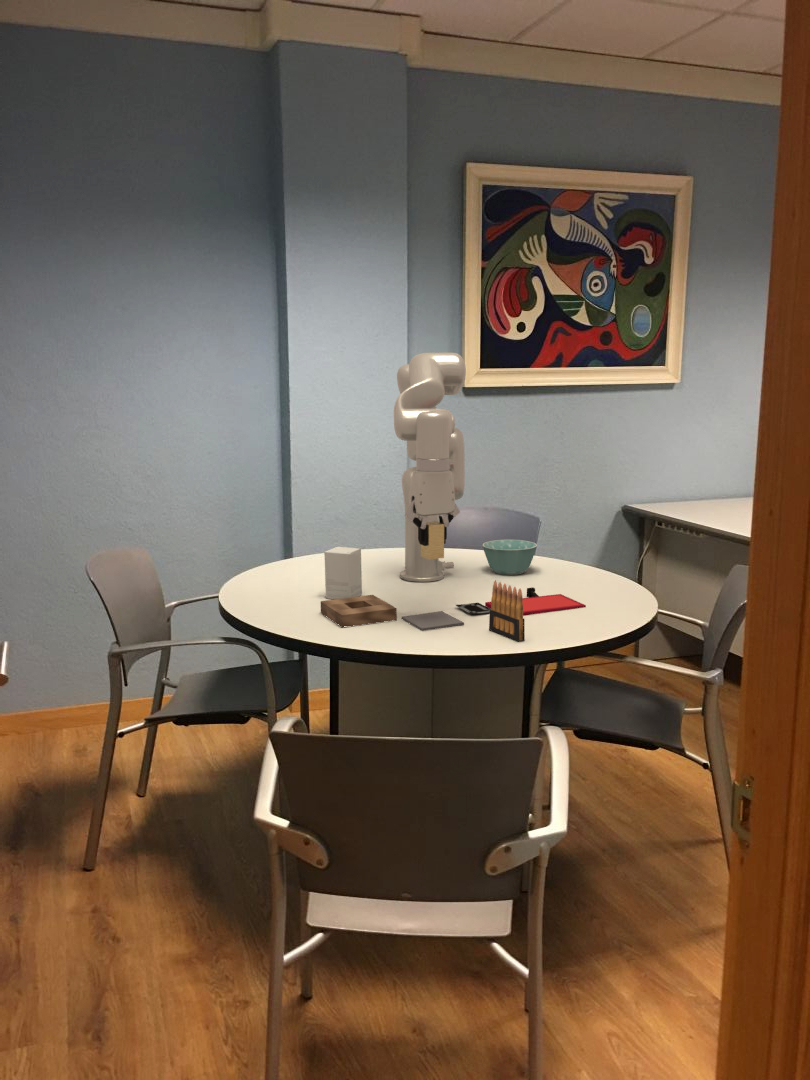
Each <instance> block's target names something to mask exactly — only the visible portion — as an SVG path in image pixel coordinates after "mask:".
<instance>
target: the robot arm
mask: <svg viewBox="0 0 810 1080" xmlns="http://www.w3.org/2000/svg"><path fill="white" fill-rule="evenodd" d="M466 373H467V371H466V364H465V360H464V358H463V357H462V355H460V354H459V353H456V352H421V353H418V354H416V355H414V356H413V357H412V358H411V359H410V362H409V363H407V364H403V365H401V366H400V367H399V368H398V369H397V373H396V380H397V387H398V390H399V395H398V396H397V398H396V401H395V402H394V407H393V426H394V432H395V436H396V438H398V439H399V440H402V441H406V450H407V455H408V457H409V459H410V460H412V461H415V463H416V464H415V466H413V467H409V468H407V469H405V470H404V472H402V473H403V474H402V475H401V487H402V494H403V502H404V503H403V505H404V522H405V523H404V525H405V526H404V539H405V540H404V553H405V554H404V559H405V560H404V561H405V562H404V566H405V567H404V569H405V570H401V571H400V572H399V578H400V579H401V580H404V581H409V582H414V583H424V582H425V583H427V582H428V583H429V582H437V581H440V580H443V579H444V577H445V573H444V570H446V569H447V570H450V569H454V567H455V563H454V561H447V562H446V561H442V560H440V558H439V559H426V558H424V557H421V545H424V546H427V545H428V530H427V529H426V523H427V522H435V521H436V522H439V523H442V524H444V545H445V544H446V543H447V542H446V540H447V535H448V534H447V533H448V529H447V528H448V527H449V525H450V523H451V522H452V521H453V519H454V518H455V517H457V516H458V515H459V514H461V510H460V508H459V506H458V505H457V504H456V501H457V500H460V499H461V498H462V497H463V496H464V494H465V493H464V492H465V485H466V484H465V482H466V481H465V479H466V478H465V472H466V471H465V470H466V469H465V462H466V461H465V460H466V459H465V455H466V454H465V439H464V435H463V432H462V431H461V430H460V429H459V428H458V427H456V420H455V416H454V415H453V414H452V412H451V411H450V410H448V409H446V408H437V406H438V405H440V403H441V402H442V401H443V399H444V397H445V396H455V395H457V394H459V393H460V392H461V389H462V387H463V385H464V383H465V380H466V375H467V374H466Z"/></svg>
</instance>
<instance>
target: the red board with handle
mask: <svg viewBox="0 0 810 1080" xmlns="http://www.w3.org/2000/svg"><path fill="white" fill-rule="evenodd" d="M522 601H523V617H524V616H534V615H540V614H546V613H552V612H553V613H554V612H561V611H568V610H576V609H582V608H586V606H587V605H586V604H584V603H582V602H579V601H577V600H575V599H573V598H571V597H569V596H567V595H564V594H561V593H557V594H549V595H540V596H539V595H538V593H536V587H526V597H522ZM455 606H456V607H457V608H460V609H461V610H463V611H465V612H467V613H469V614H471V615H478V614H484V613H490V609H491V601H487V602H485V603H484V604H482V603H480V602H469V603H462V604H456V605H455Z"/></svg>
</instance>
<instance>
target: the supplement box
mask: <svg viewBox="0 0 810 1080" xmlns="http://www.w3.org/2000/svg"><path fill="white" fill-rule="evenodd" d="M323 555H324V581H325V582H324V583H325V586H324V587H325V599H327V600H334V599H342V598H350V597H358V596H363V585H362V584H363V582H362V581H363V580H362V576H363V575H362V572H363V571H362V549H361V548H356V547H345V546H336V547H333V548H330V549H329V550H326V551H324V554H323Z"/></svg>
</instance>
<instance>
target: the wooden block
mask: <svg viewBox="0 0 810 1080" xmlns="http://www.w3.org/2000/svg"><path fill="white" fill-rule="evenodd" d="M426 529H427V530H428V545H427V546H424V545H421V557H424V558H426V559H439V560H440V559H444V558H445V544H444V524H442V523H439V522H436V521H435V522H427V523H426Z"/></svg>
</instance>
